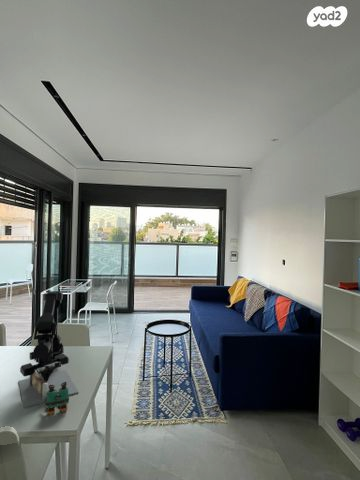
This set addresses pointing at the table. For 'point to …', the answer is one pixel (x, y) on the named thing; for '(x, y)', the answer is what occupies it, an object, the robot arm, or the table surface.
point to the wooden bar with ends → (37, 382)
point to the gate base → (45, 388)
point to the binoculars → (57, 398)
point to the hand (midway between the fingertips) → (45, 383)
